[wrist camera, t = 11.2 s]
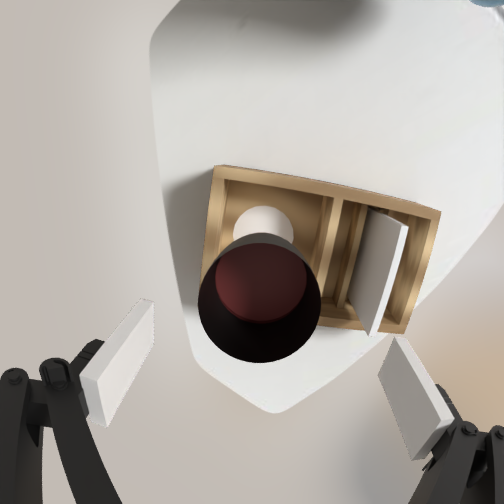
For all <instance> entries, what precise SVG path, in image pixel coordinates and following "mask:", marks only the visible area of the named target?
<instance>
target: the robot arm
mask: <svg viewBox="0 0 504 504" xmlns="http://www.w3.org/2000/svg"><path fill="white" fill-rule="evenodd" d="M469 1H471V2H472V3H474V4H476V5H479V6H482V7H497V6H502V5H504V0H469ZM153 344H154V302H153V301H150V300H145V299H140V300H139V301H138V302H137V304H136V305H135V306H134V307H133V308H132V310H131V311H130V312H129V313H128V315H127V316H126V317H125V318H124V319H123V321H122V322H121V323H120V324H119V325H118V327H117V328H116V329H115V330H114V331H113V333H112V334H111V335H110V336H109V338H108V339H107V340H106V341H101V340H98V339H95V340H93V341H91V342H89V343H87V345H86V346H85V347H84V348H83V349H82V351H81V352H80V353H79V354H78V355H77V356H76V357H75V359H74V360H73V361H72V362H71V363H70V364H69V363H68V362H67V361H66V360H64V359H61V358H50V359H47V360H45V361H44V362H43V363H42V364H41V365H40V368H39V372H40V375H41V379H42V381H40V380H33V379H29V377H28V374H27V373H26V371H24V370H23V369H20V368H11V369H9V370H7V371H5V372H4V373H3V375H2V376H1V379H0V504H43V500H42V446H43V429H44V427H51V428H53V432H54V436H55V440H56V443H57V447H58V450H59V454H60V457H61V461H62V464H63V467H64V470H65V473H66V476H67V479H68V482H69V485H70V488H71V491H72V493H73V496H74V498H75V501H76V504H122V502H121V500H120V498H119V497H118V494H117V492H116V490H115V488H114V486H113V484H112V482H111V480H110V478H109V476H108V473H107V471H106V469H105V467H104V465H103V462H102V460H101V457H100V455H99V452H98V450H97V448H96V445H95V443H94V440H93V438H92V435H91V432H90V429H89V427H88V424H87V421H86V417H87V416H88V414H89V416H90V419H91V422H92V423H95V424H98V425H101V426H103V427H106V428H107V427H108V426H109V424H110V422H111V420H112V418H113V416H114V414H115V412H116V411H117V409H118V407H119V405H120V403H121V401H122V400H123V398H124V396H125V394H126V392H127V390H128V389H129V387H130V385H131V383H132V382H133V380H134V378H135V376H136V374H137V373H138V371H139V369H140V367H141V366H142V364H143V362H144V360H145V358H146V357H147V355H148V353H149V351H150V350H151V348H152V346H153ZM378 377H379V379H380V381H381V384H382V386H383V388H384V391H385V393H386V396H387V398H388V400H389V403H390V406H391V408H392V411H393V413H394V416H395V418H396V421H397V423H398V426H399V428H400V431H401V434H402V437H403V439H404V442H405V445H406V447H407V450H408V452H409V455H410V458H411V460H418V459H425V457H426V456H427V455H428V454H429V452H430V451H432V454H433V457H432V458H431V460H430V461H429V462H428V463H427V464H426V466H425V467H424V468H423V469H422V470H423V471H424V470H425V469H426V470H425V472H424V474H423V476H422V478H421V480H420V483H419V484H418V486H417V488H416V490H415V492H414V494H413V496H412V498H411V499H410V502H409V503H408V504H459V503H460V504H504V427H502V426H497V425H496V426H494V427H493V428H492V429H491V430H490V432H489V433H487V432H479V431H478V428H477V427H476V426H475V425H474V424H472V423H471V422H468V421H463V420H462V418H461V417H460V415H459V413H458V411H457V410H456V408H455V406H454V405H453V404H452V401H451V399H450V398H449V396H448V395H447V393H446V392H445V390H444V389H443V388H442V387H441V386H440V385H438V384H434V382H433V381H432V379H431V377H430V376H429V374H428V372H427V371H426V369H425V368H424V366H423V364H422V363H421V361H420V360H419V358H418V356H417V355H416V353H415V352H414V350H413V349H412V347H411V345H410V344H409V342H408V341H407V339H406V338H402V337H394V339H393V341H392V344H391V346H390V349H389V351H388V354H387V356H386V358H385V360H384V363H383V365H382V367H381V369H380V372H379V374H378Z"/></svg>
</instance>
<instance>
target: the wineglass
mask: <svg viewBox="0 0 504 504" xmlns="http://www.w3.org/2000/svg"><path fill="white" fill-rule="evenodd" d="M233 238H234V241H233V242H232V243H231V244H229V245H228V246H227V247H226V248H225V249H224V250H223V251H222V252H221V253H220V254H219V255H218V257H217V258H216V259H215V260H214V262H213V263H212V265H211V266H210V268H209V269H208V271H207V272H206V274H205V276H204V279H203V281H202V283H201V286H200V291H199V296H198V310H199V316H200V320H201V323H202V325H203V328H204V330H205V332H206V333H207V335H208V337H209V338H210V339H211V340H212V342H213V343H214V344H215V345H216V346H217V347H218V348H219V349H221V350H222V351H223V352H225V353H226V354H228V355H230V356H232V357H234V358H236V359H239V360H242V361H246V362H252V363H267V362H273V361H277V360H280V359H283V358H285V357H287V356H289V355H291V354H293V353H294V352H296V351H297V350H298V349H299V348H301V347H302V346H303V345H304V344H305V343H306V342H307V340H308V339H309V338H310V337H311V335H312V333H313V332H314V330H315V328H316V326H317V323H318V321H319V317H320V313H321V293H320V289H319V285H318V282H317V280H316V277H315V275H314V273H313V271H312V269H311V267H310V265H309V264H308V262H307V261H306V259H305V258H304V256H303V255H302V253H301V252H300V251H299V250H298V249H297V248H296V247H295V246H294V245H292V242H293V238H294V237H293V228H292V225H291V223H290V220H289V219H288V218H287V217H286V215H285V214H284V213H283V212H281V211H279V210H278V209H276V208H274V207H269V206H256V207H253V208H251V209H248V210H247V211H245V212H244V213H243V214H242V215H241V216H240V217H239V218H238V220H237V222H236V223H235V226H234V231H233Z"/></svg>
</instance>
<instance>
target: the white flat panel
mask: <svg viewBox="0 0 504 504" xmlns="http://www.w3.org/2000/svg"><path fill="white" fill-rule="evenodd" d="M408 228H409V227H408V226H406V225H405V224H403V223H401V222H399V221H397V220H395V219H393V218H391V217H389V216H387V215H385V214H383V213H381V212H379V211H377V210H375V209H373V208H369V207H368V208H367V213H366V218H365V222H364V227H363V231H362V235H361V240H360V244H359V248H358V252H357V256H356V260H355V264H354V268H353V272H352V276H351V279H350V283H349V287H348V290H347V294H346V295H347V297H348V299H349V301H350V303H351V305H352V306H353V308H354V310H355V312H356V314H357V316H358V318H359V320H360V321H361V323H362V325H363V327H364V329H365V331H366V333H367V335H368V337H375V336H376V334H377V331H378V328H379V325H380V323H381V320H382V317H383V314H384V311H385V308H386V305H387V302H388V299H389V296H390V293H391V290H392V286H393V283H394V280H395V276H396V273H397V270H398V266H399V263H400V259H401V255H402V252H403V248H404V244H405V240H406V236H407V232H408Z"/></svg>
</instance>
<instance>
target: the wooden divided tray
mask: <svg viewBox="0 0 504 504" xmlns="http://www.w3.org/2000/svg"><path fill="white" fill-rule="evenodd" d="M256 206H269V207H274V208H276V209H278V210H279V211H281V212H283V213H284V214H285V215H286V217H287V218H288V219H289V220H290V223H291V225H292V228H293V237H294V238H293V242H292V245H294V246H295V247H296V248H297V249H298V250H299V251H300V252H301V253H302V255H303V256H304V258H305V259H306V261H307V262H308V264H309V265H310V267H311V269H312V271H313V273H314V275H315V277H316V280H317V282H318V285H319V289H320V293H321V313H320V317H319V321H318V323H317V325H319V326H327V327H336V328H345V329H354V330H364V331H365V329H364V327H363V325H362V323H361V321H360V320H359V318H358V316H357V314H356V312H355V310H354V308H353V306H352V305H351V303H350V301H349V299H348V297H347V295H346V294H347V290H348V287H349V283H350V279H351V276H352V272H353V268H354V264H355V260H356V256H357V252H358V248H359V244H360V240H361V235H362V231H363V227H364V222H365V218H366V213H367V208H368V207H369V208H373V209H375V210H377V211H379V212H381V213H383V214H385V215H387V216H389V217H391V218H393V219H395V220H397V221H399V222H401V223H403V224H405V225H406V226H408V227H409V228H408V232H407V236H406V240H405V244H404V248H403V252H402V255H401V259H400V263H399V266H398V270H397V273H396V276H395V280H394V283H393V286H392V290H391V293H390V296H389V299H388V302H387V305H386V308H385V311H384V314H383V317H382V320H381V323H380V325H379V328H378V331H377V332H385V333H396V334H404V332H405V330H406V327H407V325H408V322H409V319H410V316H411V314H412V311H413V308H414V306H415V303H416V300H417V297H418V294H419V291H420V288H421V285H422V282H423V279H424V275H425V272H426V269H427V265H428V262H429V259H430V255H431V252H432V248H433V244H434V240H435V237H436V233H437V229H438V224H439V220H440V216H441V211H438V210H435V209H432V208H430V207H427V206H424V205H421V204H418V203H415V202H411V201H407V200H404V199H400V198H396V197H392V196H387V195H383V194H379V193H375V192H371V191H366V190H362V189H357V188H353V187H348V186H344V185H339V184H334V183H329V182H324V181H319V180H314V179H309V178H303V177H298V176H292V175H287V174H281V173H275V172H269V171H263V170H257V169H250V168H243V167H237V166H229V165H216V166H214V170H213V178H212V185H211V192H210V200H209V207H208V215H207V223H206V232H205V240H204V249H203V258H202V267H201V277H200V286H201V283H202V281H203V279H204V276H205V274H206V272H207V271H208V269H209V268H210V266H211V265H212V263H213V262H214V260H215V259H216V258H217V257H218V255H219V254H220V253H221V252H222V251H223V250H224V249H225V248H226V247H227V246H228V245H229V244H231V243H232V242H233V241H234V238H233V231H234V226H235V223H236V222H237V220H238V218H239V217H240V216H241V215H242V214H243V213H244V212H245V211H247V210H248V209H251V208H253V207H256ZM199 291H200V287H199Z"/></svg>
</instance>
